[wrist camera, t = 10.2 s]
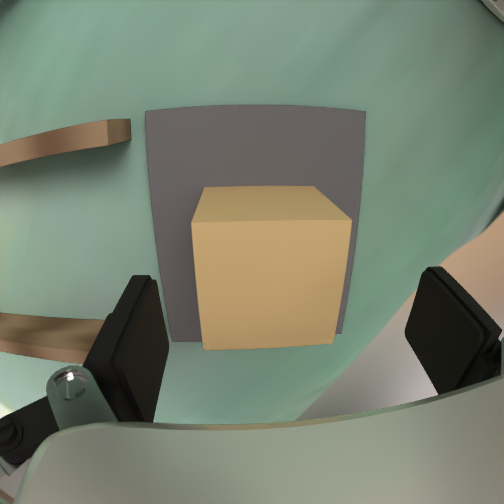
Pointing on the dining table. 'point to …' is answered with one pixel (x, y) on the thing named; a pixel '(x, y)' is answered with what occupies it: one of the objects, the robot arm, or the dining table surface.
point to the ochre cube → (268, 266)
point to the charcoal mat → (243, 178)
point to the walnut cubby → (50, 328)
